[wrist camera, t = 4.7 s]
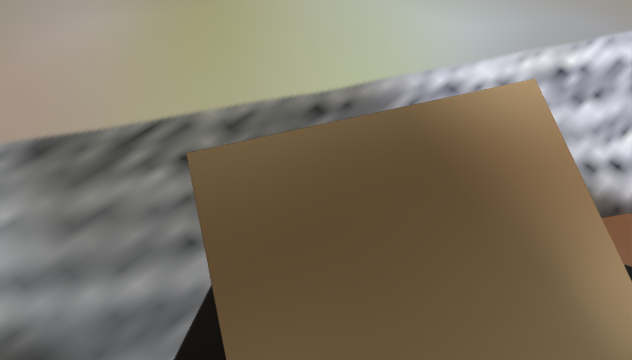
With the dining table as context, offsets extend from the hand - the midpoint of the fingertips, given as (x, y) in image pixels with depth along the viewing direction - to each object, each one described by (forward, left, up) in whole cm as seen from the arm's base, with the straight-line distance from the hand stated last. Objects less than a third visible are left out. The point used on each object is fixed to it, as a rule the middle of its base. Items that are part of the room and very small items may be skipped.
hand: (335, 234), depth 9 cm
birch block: (-1, 0, -7) cm, 7 cm away
